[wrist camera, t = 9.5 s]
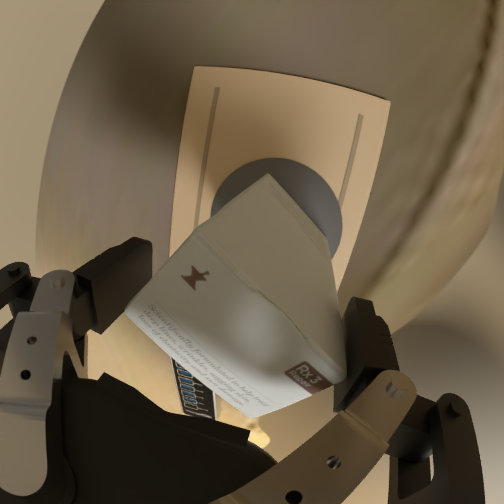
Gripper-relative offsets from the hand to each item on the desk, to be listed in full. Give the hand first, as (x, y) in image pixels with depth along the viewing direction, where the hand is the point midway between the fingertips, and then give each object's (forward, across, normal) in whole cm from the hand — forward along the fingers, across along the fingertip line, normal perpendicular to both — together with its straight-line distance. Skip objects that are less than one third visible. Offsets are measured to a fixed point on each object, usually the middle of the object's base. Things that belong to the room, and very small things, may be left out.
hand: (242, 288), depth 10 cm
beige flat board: (+9, +1, -1) cm, 10 cm away
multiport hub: (+10, +4, +19) cm, 22 cm away
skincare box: (+9, 0, 0) cm, 9 cm away
